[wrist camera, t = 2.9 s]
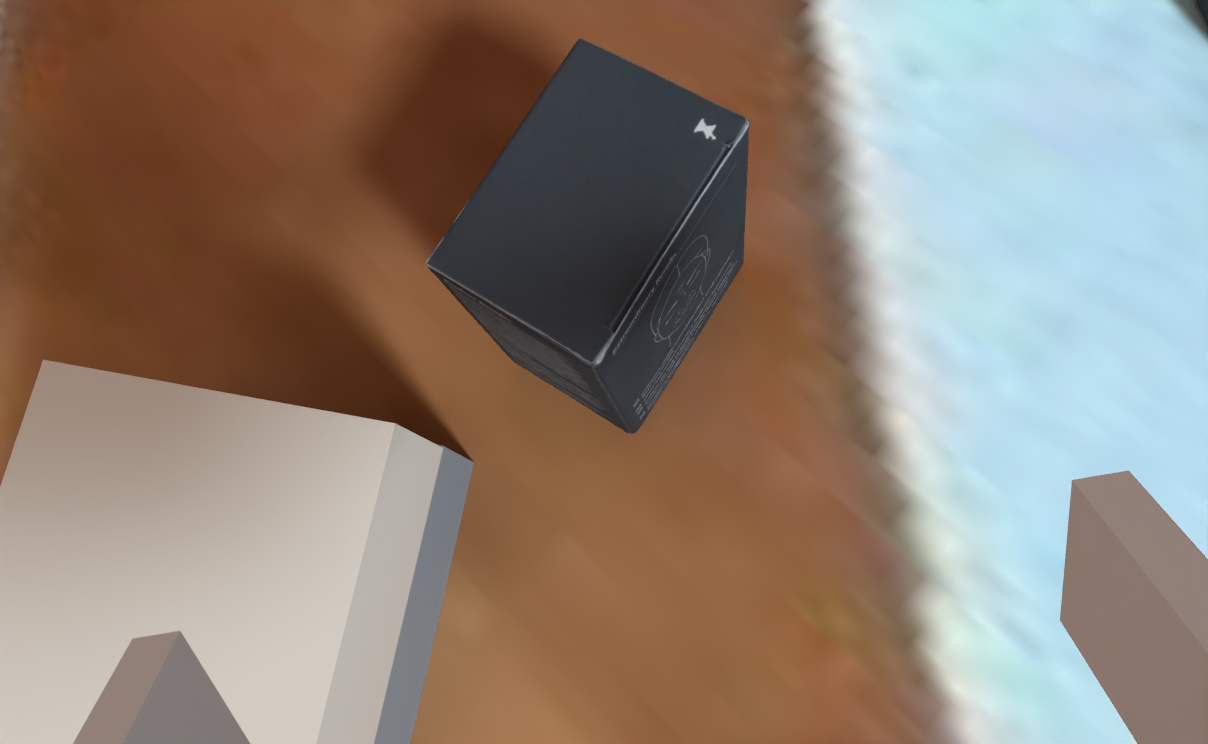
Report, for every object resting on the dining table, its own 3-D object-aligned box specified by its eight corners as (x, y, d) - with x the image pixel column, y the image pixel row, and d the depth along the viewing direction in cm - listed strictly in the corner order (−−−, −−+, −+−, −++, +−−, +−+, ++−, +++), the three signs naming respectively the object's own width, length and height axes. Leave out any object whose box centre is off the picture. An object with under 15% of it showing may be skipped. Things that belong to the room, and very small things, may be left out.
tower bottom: (209, 415, 35) (137, 389, 30) (476, 463, 33) (441, 444, 29) (124, 706, 32) (32, 724, 28) (406, 776, 31) (355, 806, 26)
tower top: (138, 392, 30) (43, 359, 26) (443, 447, 29) (395, 423, 24) (33, 727, 28) (-91, 753, 24) (358, 810, 26) (288, 854, 22)
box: (619, 195, 35) (579, 28, 24) (746, 264, 33) (760, 118, 23) (507, 362, 33) (416, 261, 23) (634, 440, 32) (596, 370, 22)
